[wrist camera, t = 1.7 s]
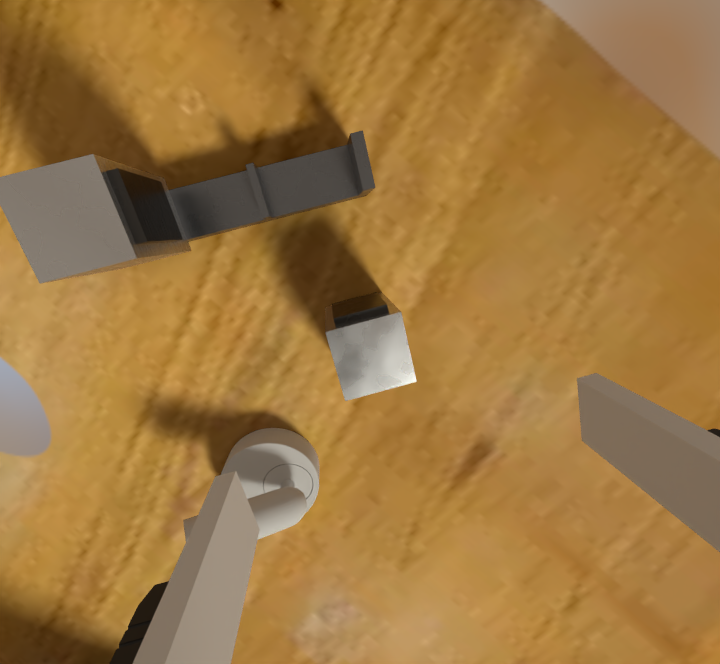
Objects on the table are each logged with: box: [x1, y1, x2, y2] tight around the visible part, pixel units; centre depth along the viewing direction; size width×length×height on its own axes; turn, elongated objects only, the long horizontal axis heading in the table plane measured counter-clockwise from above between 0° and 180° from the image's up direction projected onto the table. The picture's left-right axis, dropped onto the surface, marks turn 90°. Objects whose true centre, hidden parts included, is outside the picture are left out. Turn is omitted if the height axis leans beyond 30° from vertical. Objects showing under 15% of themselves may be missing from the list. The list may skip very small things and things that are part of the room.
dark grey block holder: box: [0, 131, 375, 283], centre depth 23 cm, size 20×5×10 cm, turn 104°
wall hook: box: [183, 428, 319, 542], centre depth 30 cm, size 9×10×10 cm
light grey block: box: [325, 292, 417, 401], centre depth 28 cm, size 6×5×8 cm
